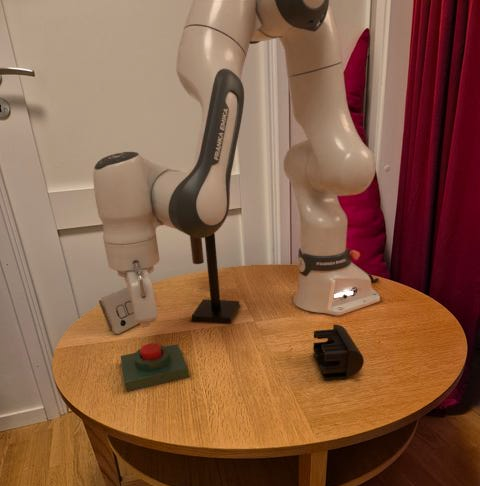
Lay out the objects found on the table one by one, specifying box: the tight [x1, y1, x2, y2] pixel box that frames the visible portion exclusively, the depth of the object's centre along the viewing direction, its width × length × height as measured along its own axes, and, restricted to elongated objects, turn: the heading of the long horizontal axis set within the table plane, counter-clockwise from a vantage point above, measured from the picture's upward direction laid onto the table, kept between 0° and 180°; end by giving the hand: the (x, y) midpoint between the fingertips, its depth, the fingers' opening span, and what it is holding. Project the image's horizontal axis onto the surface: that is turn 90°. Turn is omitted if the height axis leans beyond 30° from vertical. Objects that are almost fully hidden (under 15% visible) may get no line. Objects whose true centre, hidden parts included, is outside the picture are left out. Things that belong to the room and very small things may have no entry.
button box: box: [120, 343, 190, 392], centre depth 82 cm, size 12×10×4 cm
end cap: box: [312, 324, 364, 382], centre depth 79 cm, size 10×7×7 cm
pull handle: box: [189, 236, 205, 265], centre depth 106 cm, size 3×3×14 cm
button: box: [139, 342, 162, 360], centre depth 80 cm, size 4×4×2 cm
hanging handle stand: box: [190, 232, 241, 324], centre depth 101 cm, size 14×17×28 cm
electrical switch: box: [98, 287, 139, 335], centre depth 99 cm, size 9×5×9 cm, turn 141°
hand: (144, 323), depth 77 cm, fingers closed
